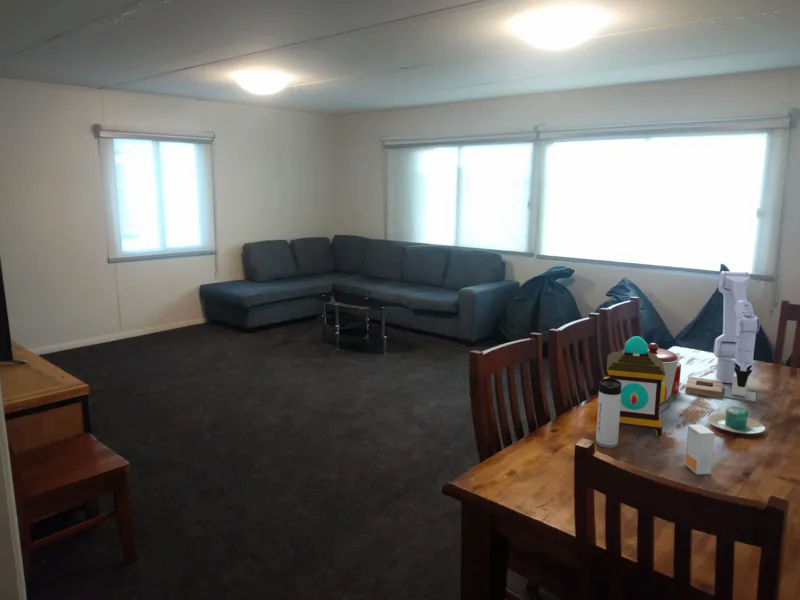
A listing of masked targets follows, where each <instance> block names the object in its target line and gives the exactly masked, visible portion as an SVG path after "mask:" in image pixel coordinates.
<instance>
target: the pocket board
mask: <svg viewBox="0 0 800 600" xmlns="http://www.w3.org/2000/svg"><path fill="white" fill-rule="evenodd" d="M723 383H724V382H723V381H718V380H714V379H710V378H709V379H708V378H703V377H702V378H701V377H696V376H695V377H694V376H688V377H687V381H686V384H685V389H684V390H685V392H684V393H685V394H692V395H698V396H704V397H705V396H706V397H711V398H712V397H713V398H717V399H722V395H723V393H722V392H723V385H724V384H723Z"/></svg>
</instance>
